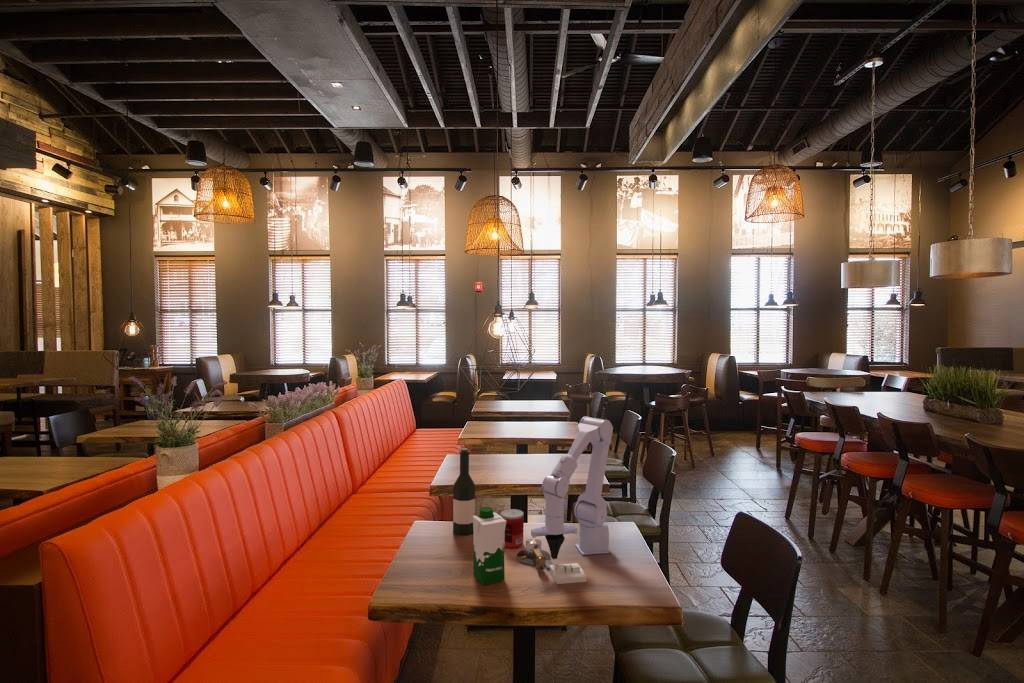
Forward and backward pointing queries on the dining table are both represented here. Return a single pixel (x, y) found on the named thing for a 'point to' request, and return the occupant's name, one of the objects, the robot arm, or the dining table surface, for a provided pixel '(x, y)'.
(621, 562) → the dining table surface
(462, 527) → the wine bottle
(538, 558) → the round-headed metal tool
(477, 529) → the milk carton
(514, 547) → the canned food
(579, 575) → the stand board
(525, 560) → the dial base
